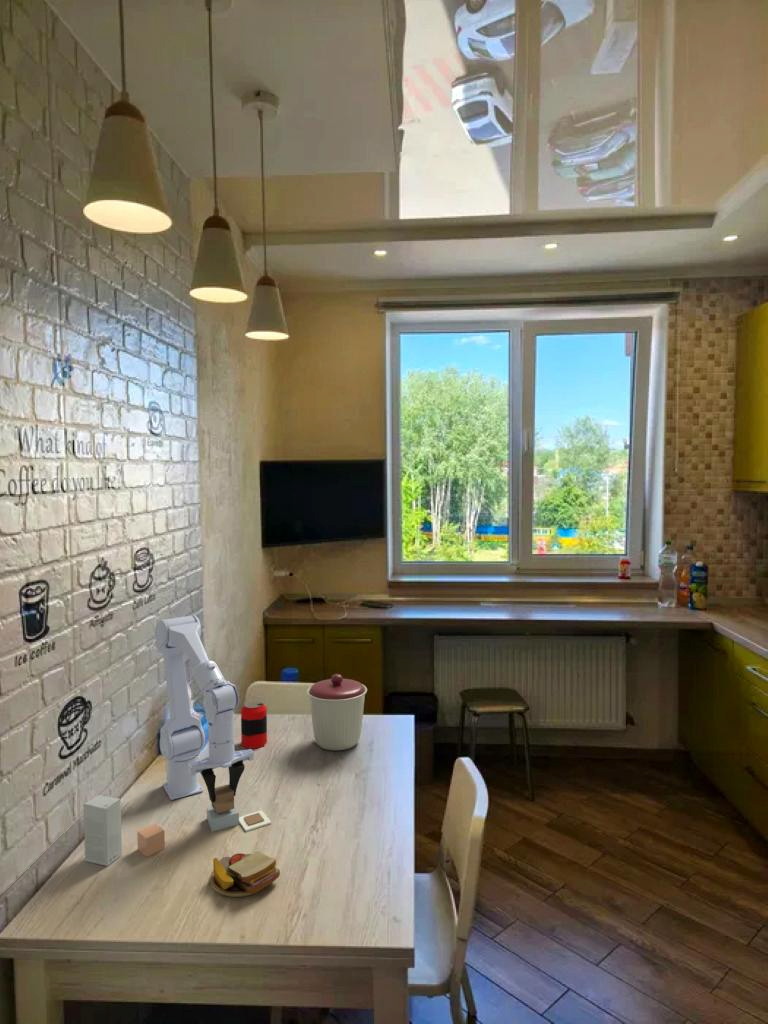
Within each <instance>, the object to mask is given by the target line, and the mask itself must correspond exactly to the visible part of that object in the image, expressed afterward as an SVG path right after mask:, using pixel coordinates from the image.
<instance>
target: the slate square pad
mask: <svg viewBox="0 0 768 1024" xmlns="http://www.w3.org/2000/svg"><path fill="white" fill-rule="evenodd" d="M239 817H240V812H239V810H238V808H237V807H236V805H235V803H234V809H231V810H228V811H225V812H221V813H218V814H217V813H216V812H215V810H214V809H213V807H212V805H210V806H207V807H206V820H207V823H208V824H209V828H210V830H211V832H212V833H213V832H215V831H217V832H218V831H221V830H223V829H228V828H231V827H236V826H238V825H240V823H239Z"/></svg>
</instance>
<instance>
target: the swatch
mask: <svg viewBox="0 0 768 1024" xmlns="http://www.w3.org/2000/svg"><path fill="white" fill-rule="evenodd" d="M271 824H272V821H271V820H270V818H269V817H268V816H267V815H266V813H265V812H264V811H263V810H262V809H261V810H257V811H254V812H251V813H248V814H245V815H242V816H239V825H240V826H241V827H242V829H243V831H244V832H249V831H250V832H251V831H252V830H256V829H259V828H262V827H266V826H268V825H271Z"/></svg>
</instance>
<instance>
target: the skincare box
mask: <svg viewBox="0 0 768 1024" xmlns="http://www.w3.org/2000/svg"><path fill="white" fill-rule="evenodd" d="M83 803H84V804H83V825H84V826H83V828H84V829H83V831H84V833H83V834H84V860H85V862H89V863H92V864H97V865H102V866H105V867H107V866H108V867H109V866H110V865H111V864H112V863H114V862H115V861H116V860H117V859H118V858H120V857H121V856H122V855H123V844H122V842H123V841H122V809H121V808H122V807H121V806H122V805H121V803H122V801H121V798H119V797H118V798H117V797H110V796H106V795H101V794H98V795H96V796H95V797H93V798H91V799H89V800H88V801H86V802H83Z"/></svg>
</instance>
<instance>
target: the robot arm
mask: <svg viewBox="0 0 768 1024" xmlns="http://www.w3.org/2000/svg"><path fill="white" fill-rule="evenodd" d="M201 627H202V626H201V621H200V619H199V618H198V616H197V615H195V614H190V615H187V616H181V617H179V616H178V617H174V618H167V619H159V620H158V621H157V622H156V625H155V628H154V637H155V638H154V639H155V645H156V646H155V647H156V651H157V653H161V654H162V657H163V664H164V673H165V675H164V676H165V680H166V690H167V699H168V708H169V719H168V720H167V721H166V722H165V723H164V724H163V725H162V726H161V728H160V738H159V749H160V753H161V755H162V756H163V758H164V759H165V760H166V763H165V764H166V766H165V767H166V768H165V769H166V781H165V782H163V783H162V787H163V788H164V790H165V792H166V793H167V796H168V797H169V799H170V801H173V800H177V799H181V798H183V797H187V796H191V795H194V794H199V793H202V792H204V788H203V787H202V786H201V783H200V782H199V773H200V775H201V777H202V778H203V780H204V783H205V785H206V790H207V791H208V796H209V800H210V802H211V803H212V802H215V788H216V778H217V775H216V774H215V772H214V770H215V769H218V768H222V769H226V768H228V774H229V775H228V776H229V778H228V781H229V782H228V784H229V786H230V787H231V788H232V790H233V791H234V797H235V796H236V793H237V789H238V784H239V782H240V779H241V777H242V775H243V773H244V771H245V766H246V765H245V764H244V762H246V761H254V760H255V759H254V758H255V756H254V755H255V752H254V751H253V749H249V748H247V749H243V750H242V749H241V750H235V710H234V709H237V708H238V706H239V703H240V696H239V692H238V689H237V687H236V685H235V684H233V683H231V682H230V681H229V680H226V679H225V677H224V675H223V673H222V672H221V670H220V668H219V666H218V664H217V663H216V662H215V661H213V660H210V659H209V657H208V654H207V652H206V649H205V647H204V644H203V642H202V640H201V634H202V628H201ZM184 653H185V655H186V656H187V658H188V660H189V661H190V662H191V664H192V665H193V667H194V670H193V677H194V680H195V681H196V684H197V685H198V687H199V690H200V691H201V693H202V695H203V699H202V705H203V709H204V713H205V719H206V720H205V721H207V722H208V724H207V726H208V729H207V730H208V756H207V757H204V758H202V759H200V760H199V755H200V754H201V749H203V748H204V746H205V743H206V735H205V731H204V729H203V725H202V721H201V719H200V718H198V717H196V716H194V715H192V714H191V707H190V706H191V705H190V697H189V689H188V681H187V675H186V674H187V673H186V665H185V662H186V661H185V656H184Z"/></svg>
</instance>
